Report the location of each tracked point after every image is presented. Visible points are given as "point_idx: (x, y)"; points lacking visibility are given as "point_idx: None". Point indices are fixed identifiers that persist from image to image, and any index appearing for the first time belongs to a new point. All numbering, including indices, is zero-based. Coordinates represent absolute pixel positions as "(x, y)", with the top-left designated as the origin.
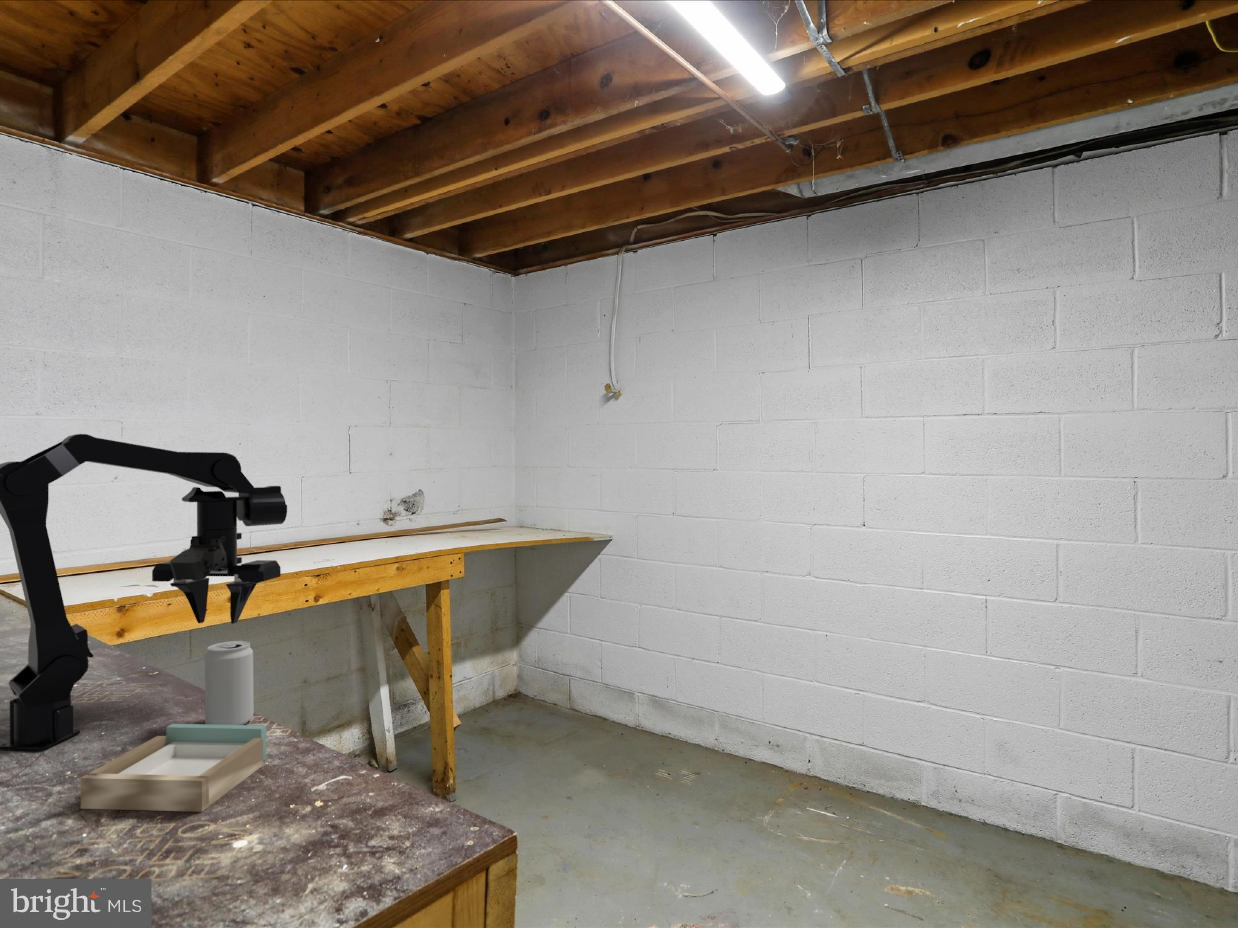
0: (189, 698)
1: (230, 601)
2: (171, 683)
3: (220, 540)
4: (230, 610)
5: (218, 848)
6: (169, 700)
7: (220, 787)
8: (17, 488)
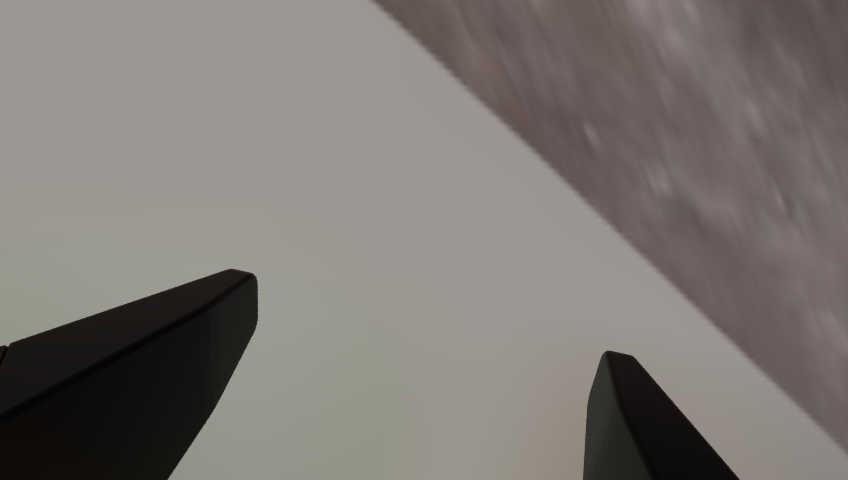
0: (663, 182)
1: (45, 388)
2: (837, 407)
3: None
4: (159, 326)
5: None
6: (758, 165)
7: None
8: None
